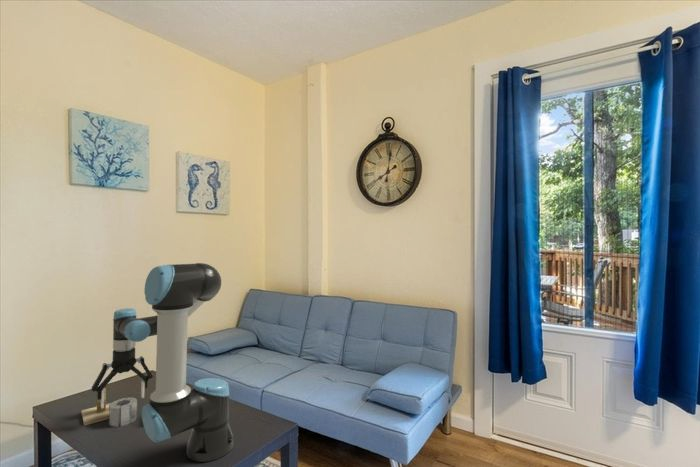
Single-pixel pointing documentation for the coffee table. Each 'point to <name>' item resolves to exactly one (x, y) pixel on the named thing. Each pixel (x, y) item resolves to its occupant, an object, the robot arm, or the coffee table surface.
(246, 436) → the coffee table surface
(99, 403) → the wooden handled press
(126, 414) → the studded hollow tube
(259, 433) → the coffee table surface
